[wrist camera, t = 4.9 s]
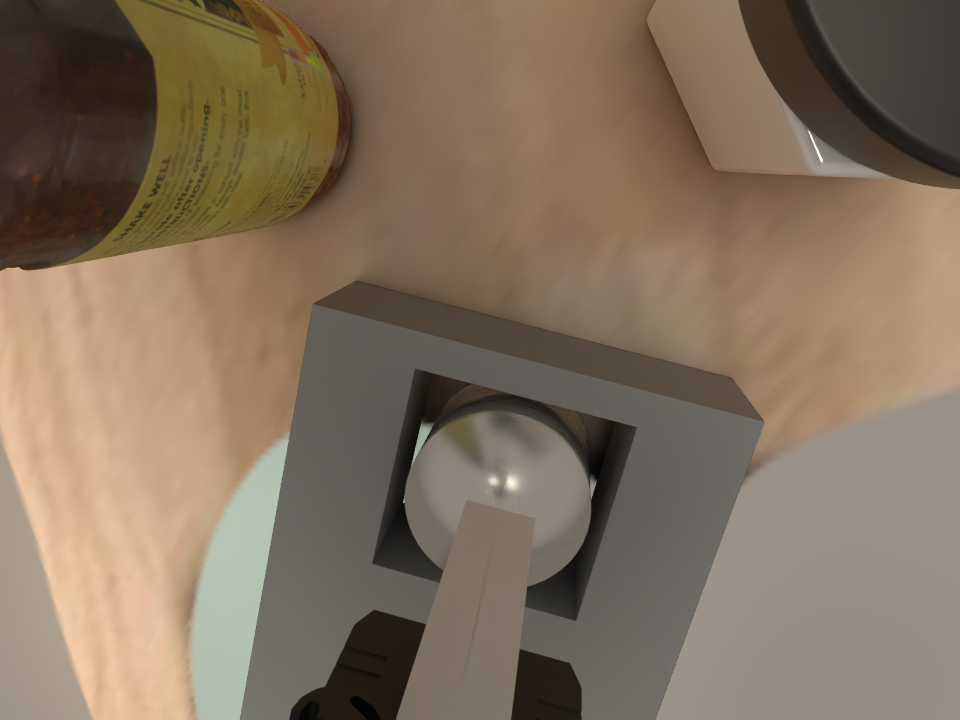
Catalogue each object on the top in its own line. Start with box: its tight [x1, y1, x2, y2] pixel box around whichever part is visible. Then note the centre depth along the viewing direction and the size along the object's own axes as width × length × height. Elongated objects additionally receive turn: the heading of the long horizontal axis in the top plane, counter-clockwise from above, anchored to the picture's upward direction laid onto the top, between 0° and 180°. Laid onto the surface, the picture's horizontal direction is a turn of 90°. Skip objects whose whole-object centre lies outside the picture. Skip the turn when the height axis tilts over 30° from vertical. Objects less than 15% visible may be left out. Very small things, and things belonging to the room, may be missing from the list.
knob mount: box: [240, 281, 764, 720], centre depth 24 cm, size 24×12×4 cm, turn 166°
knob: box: [405, 384, 591, 586], centre depth 22 cm, size 5×5×4 cm
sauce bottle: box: [0, 0, 351, 271], centre depth 13 cm, size 7×6×20 cm
